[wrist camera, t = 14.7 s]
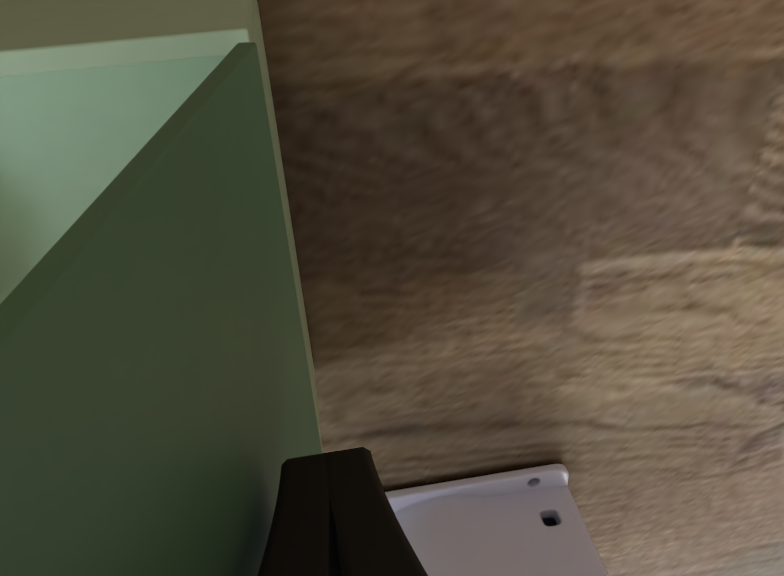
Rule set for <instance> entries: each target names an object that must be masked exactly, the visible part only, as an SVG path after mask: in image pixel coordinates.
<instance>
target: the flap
mask: <svg viewBox="0 0 784 576" xmlns="http://www.w3.org/2000/svg"><path fill="white" fill-rule="evenodd" d="M315 454H322V450H321V444H320V438H319V431H318V425H317V419H316V413H315V406H314V400H313V394H312V388H311V381H310V375H309V369H308V363H307V356H306V350H305V344H304V338H303V331H302V325H301V319H300V313H299V307H298V300H297V294H296V288H295V282H294V275H293V269H292V263H291V257H290V250H289V244H288V238H287V232H286V225H285V219H284V213H283V207H282V200H281V194H280V188H279V182H278V175H277V169H276V163H275V157H274V151H273V144H272V138H271V132H270V126H269V119H268V113H267V107H266V101H265V94H264V88H263V82H262V76H261V69H260V63H259V57H258V51H257V45H256V43H255V42H245V43H237V44H236V45H235V47H234V48H233V49H232V50H231V51H230V52H229V53H228V54H227V55H226V56H225V58H224V59H223V60H222V61H221V62H220V63H219V64H218V65H217V66H216V67H215V69H214V70H213V71H212V72H211V73H210V74H209V75H208V76H207V77H206V78H205V80H204V81H203V82H202V83H201V84H200V85H199V86H198V87H197V88H196V89H195V91H194V92H193V93H192V94H191V95H190V96H189V97H188V98H187V99H186V100H185V101H184V103H183V104H182V105H181V106H180V107H179V108H178V109H177V110H176V111H175V112H174V114H173V115H172V116H171V117H170V118H169V119H168V120H167V121H166V122H165V123H164V125H163V126H162V127H161V128H160V129H159V130H158V131H157V132H156V133H155V134H154V136H153V137H152V138H151V139H150V140H149V141H148V142H147V143H146V144H145V145H144V147H143V148H142V149H141V150H140V151H139V152H138V153H137V154H136V155H135V156H134V157H133V159H132V160H131V161H130V162H129V163H128V164H127V165H126V166H125V167H124V168H123V170H122V171H121V172H120V173H119V174H118V175H117V176H116V177H115V178H114V179H113V181H112V182H111V183H110V184H109V185H108V186H107V187H106V188H105V189H104V190H103V192H102V193H101V194H100V195H99V196H98V197H97V198H96V199H95V200H94V201H93V203H92V204H91V205H90V206H89V207H88V208H87V209H86V210H85V211H84V212H83V214H82V215H81V216H80V217H79V218H78V219H77V220H76V221H75V222H74V223H73V224H72V226H71V227H70V228H69V229H68V230H67V231H66V232H65V233H64V234H63V235H62V237H61V238H60V239H59V240H58V241H57V242H56V243H55V244H54V245H53V246H52V248H51V249H50V250H49V251H48V252H47V253H46V254H45V255H44V256H43V257H42V259H41V260H40V261H39V262H38V263H37V264H36V265H35V266H34V267H33V268H32V270H31V271H30V272H29V273H28V274H27V275H26V276H25V277H24V278H23V279H22V281H21V282H20V283H19V284H18V285H17V286H16V287H15V288H14V289H13V290H12V291H11V293H10V294H9V295H8V296H7V297H6V298H5V299H4V300H3V301H2V302H1V304H0V576H257V575H258V572H259V568H260V565H261V562H262V558H263V555H264V551H265V548H266V544H267V540H268V536H269V532H270V528H271V524H272V520H273V515H274V510H275V506H276V501H277V495H278V489H279V482H280V473H281V465H282V464H283V463H284V462H285V461H286V460H287V459H290V458H296V457H303V456H309V455H315Z"/></svg>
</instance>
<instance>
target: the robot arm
mask: <svg viewBox="0 0 784 576" xmlns="http://www.w3.org/2000/svg"><path fill="white" fill-rule="evenodd" d="M568 477H569V474H568V471H567V469H566V467H565V466H564V465H562V464H551V465H545V466H539V467H533V468H527V469H521V470H515V471H509V472H503V473H497V474H491V475H485V476H479V477H473V478H467V479H461V480H454V481H448V482H442V483H436V484H430V485H424V486H418V487H412V488H406V489H400V490H394V491H388V492H384V489H383V487H382V484H381V482H380V479H379V477H378V474H377V471H376V468H375V465H374V462H373V459H372V455H371V451H369V450H368V449H366V448H364V447H360V448H354V449H347V450H341V451H335V452H328V453H322V454H315V455H309V456H303V457H296V458H290V459H287V460H286V461H285V462H284V463H283V464H282V465H281V473H280V482H279V489H278V495H277V501H276V506H275V510H274V515H273V520H272V524H271V528H270V532H269V536H268V540H267V544H266V548H265V551H264V555H263V558H262V562H261V565H260V568H259V572H258V575H257V576H609V574H608V572H607V570H606V567H605V565H604V563H603V561H602V559H601V557H600V555H599V552H598V550H597V548H596V546H595V544H594V542H593V540H592V537H591V535H590V533H589V531H588V529H587V527H586V525H585V523H584V520H583V518H582V516H581V514H580V512H579V510H578V508H577V505H576V503H575V501H574V499H573V497H572V495H571V493H570V491H569V488H568V486H567V484H568Z"/></svg>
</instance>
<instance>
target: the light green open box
mask: <svg viewBox="0 0 784 576" xmlns="http://www.w3.org/2000/svg"><path fill="white" fill-rule="evenodd" d="M245 42H255V43H256V45H257V51H258V57H259V63H260V69H261V76H262V82H263V88H264V94H265V101H266V107H267V113H268V119H269V126H270V132H271V138H272V144H273V151H274V157H275V163H276V169H277V175H278V182H279V188H280V194H281V200H282V207H283V213H284V219H285V225H286V232H287V238H288V244H289V250H290V257H291V263H292V269H293V275H294V282H295V288H296V294H297V300H298V307H299V313H300V319H301V325H302V331H303V338H304V344H305V350H306V356H307V363H308V369H309V375H310V381H311V388H312V394H313V400H314V406H315V413H316V419H317V425H318V431H319V438H320V444H321V450H322V440H321V430H320V420H319V411H318V401H317V391H316V382H315V372H314V365H313V359H312V352H311V346H310V339H309V333H308V326H307V320H306V313H305V307H304V300H303V294H302V287H301V281H300V274H299V268H298V261H297V255H296V248H295V242H294V235H293V229H292V222H291V216H290V209H289V203H288V196H287V190H286V183H285V177H284V170H283V164H282V157H281V151H280V144H279V138H278V131H277V125H276V118H275V112H274V105H273V99H272V92H271V86H270V79H269V73H268V66H267V60H266V53H265V47H264V40H263V34H262V27H261V21H260V14H259V8H258V1H257V0H0V304H1V302H2V301H3V300H4V299H5V298H6V297H7V296H8V295H9V294H10V293H11V291H12V290H13V289H14V288H15V287H16V286H17V285H18V284H19V283H20V282H21V281H22V279H23V278H24V277H25V276H26V275H27V274H28V273H29V272H30V271H31V270H32V268H33V267H34V266H35V265H36V264H37V263H38V262H39V261H40V260H41V259H42V257H43V256H44V255H45V254H46V253H47V252H48V251H49V250H50V249H51V248H52V246H53V245H54V244H55V243H56V242H57V241H58V240H59V239H60V238H61V237H62V235H63V234H64V233H65V232H66V231H67V230H68V229H69V228H70V227H71V226H72V224H73V223H74V222H75V221H76V220H77V219H78V218H79V217H80V216H81V215H82V214H83V212H84V211H85V210H86V209H87V208H88V207H89V206H90V205H91V204H92V203H93V201H94V200H95V199H96V198H97V197H98V196H99V195H100V194H101V193H102V192H103V190H104V189H105V188H106V187H107V186H108V185H109V184H110V183H111V182H112V181H113V179H114V178H115V177H116V176H117V175H118V174H119V173H120V172H121V171H122V170H123V168H124V167H125V166H126V165H127V164H128V163H129V162H130V161H131V160H132V159H133V157H134V156H135V155H136V154H137V153H138V152H139V151H140V150H141V149H142V148H143V147H144V145H145V144H146V143H147V142H148V141H149V140H150V139H151V138H152V137H153V136H154V134H155V133H156V132H157V131H158V130H159V129H160V128H161V127H162V126H163V125H164V123H165V122H166V121H167V120H168V119H169V118H170V117H171V116H172V115H173V114H174V112H175V111H176V110H177V109H178V108H179V107H180V106H181V105H182V104H183V103H184V101H185V100H186V99H187V98H188V97H189V96H190V95H191V94H192V93H193V92H194V91H195V89H196V88H197V87H198V86H199V85H200V84H201V83H202V82H203V81H204V80H205V78H206V77H207V76H208V75H209V74H210V73H211V72H212V71H213V70H214V69H215V67H216V66H217V65H218V64H219V63H220V62H221V61H222V60H223V59H224V58H225V56H226V55H227V54H228V53H229V52H230V51H231V50H232V49H233V48H234V47H235V45H236V44H237V43H245ZM322 453H323V450H322Z"/></svg>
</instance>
